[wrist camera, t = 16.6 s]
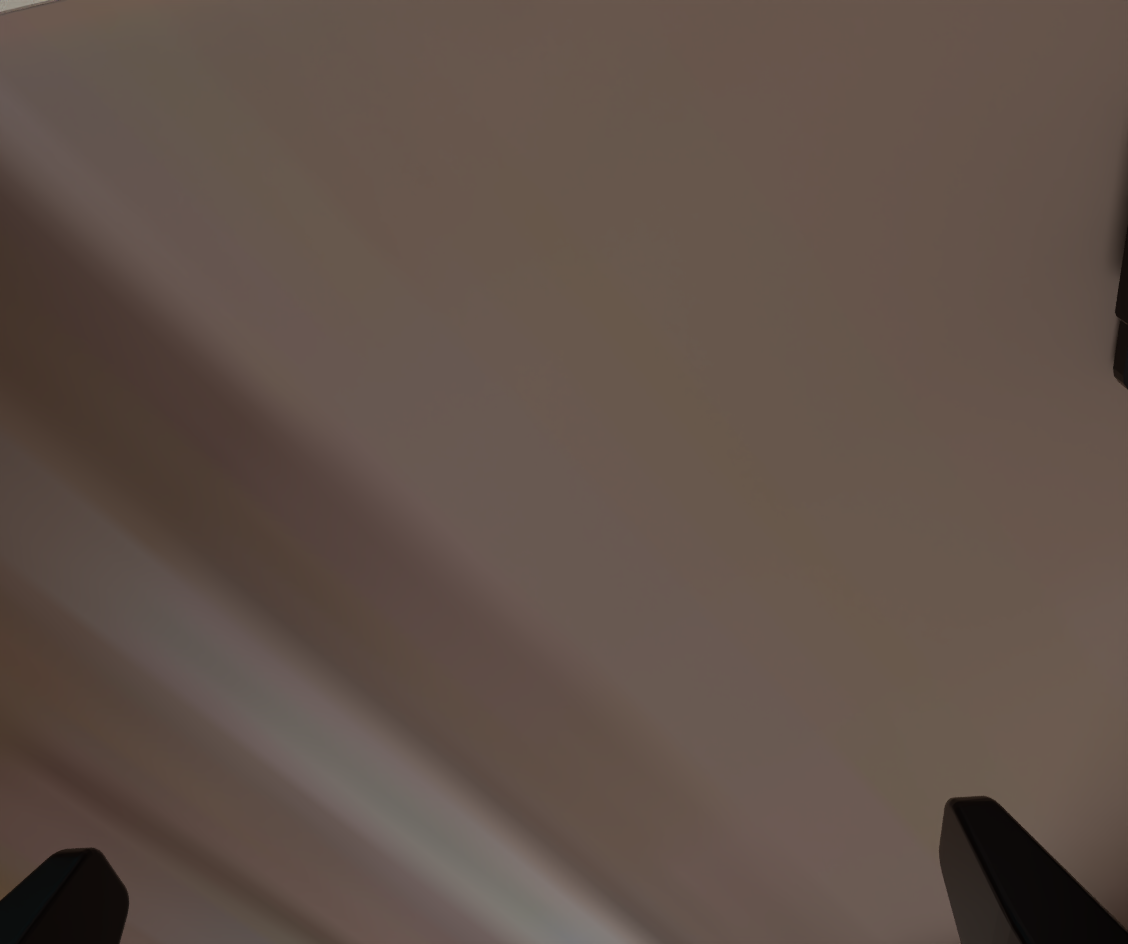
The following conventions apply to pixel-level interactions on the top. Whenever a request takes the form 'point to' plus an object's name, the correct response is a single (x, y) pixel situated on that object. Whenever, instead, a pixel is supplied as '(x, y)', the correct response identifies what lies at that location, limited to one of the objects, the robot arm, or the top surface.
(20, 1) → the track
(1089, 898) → the robot arm
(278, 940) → the top surface
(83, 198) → the top surface
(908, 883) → the top surface
